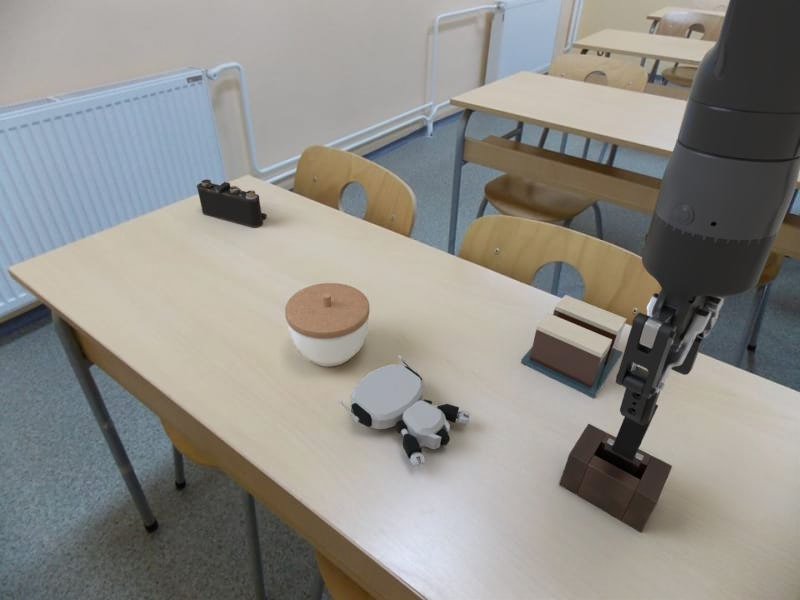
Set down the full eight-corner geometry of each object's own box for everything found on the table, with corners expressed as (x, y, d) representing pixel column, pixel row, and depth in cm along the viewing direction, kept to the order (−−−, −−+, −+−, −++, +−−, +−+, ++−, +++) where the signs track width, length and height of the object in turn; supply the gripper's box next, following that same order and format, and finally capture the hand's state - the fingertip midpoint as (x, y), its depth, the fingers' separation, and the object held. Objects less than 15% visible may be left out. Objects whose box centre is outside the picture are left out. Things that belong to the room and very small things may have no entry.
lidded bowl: (300, 324, 88) (293, 270, 82) (373, 328, 88) (373, 274, 81) (282, 376, 78) (273, 319, 72) (365, 381, 78) (364, 324, 71)
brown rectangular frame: (656, 496, 63) (672, 465, 59) (640, 532, 59) (657, 502, 56) (577, 453, 68) (588, 422, 64) (558, 484, 64) (569, 454, 60)
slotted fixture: (621, 355, 84) (635, 318, 79) (594, 398, 76) (607, 359, 71) (552, 326, 90) (561, 290, 85) (520, 362, 82) (528, 325, 77)
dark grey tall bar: (626, 492, 63) (666, 408, 54) (620, 506, 62) (659, 422, 53) (594, 475, 65) (628, 391, 56) (587, 488, 64) (620, 404, 55)
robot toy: (472, 428, 72) (394, 370, 79) (478, 407, 69) (396, 349, 76) (414, 484, 64) (334, 414, 72) (418, 463, 62) (334, 393, 69)
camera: (273, 217, 120) (269, 185, 115) (255, 229, 115) (250, 196, 110) (217, 203, 126) (211, 171, 121) (198, 214, 121) (190, 181, 116)
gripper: (743, 266, 29) (667, 465, 37) (807, 198, 37) (733, 373, 46) (613, 227, 33) (572, 413, 42) (696, 174, 42) (648, 338, 50)
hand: (656, 392), depth 44 cm, fingers open, 8 cm apart
